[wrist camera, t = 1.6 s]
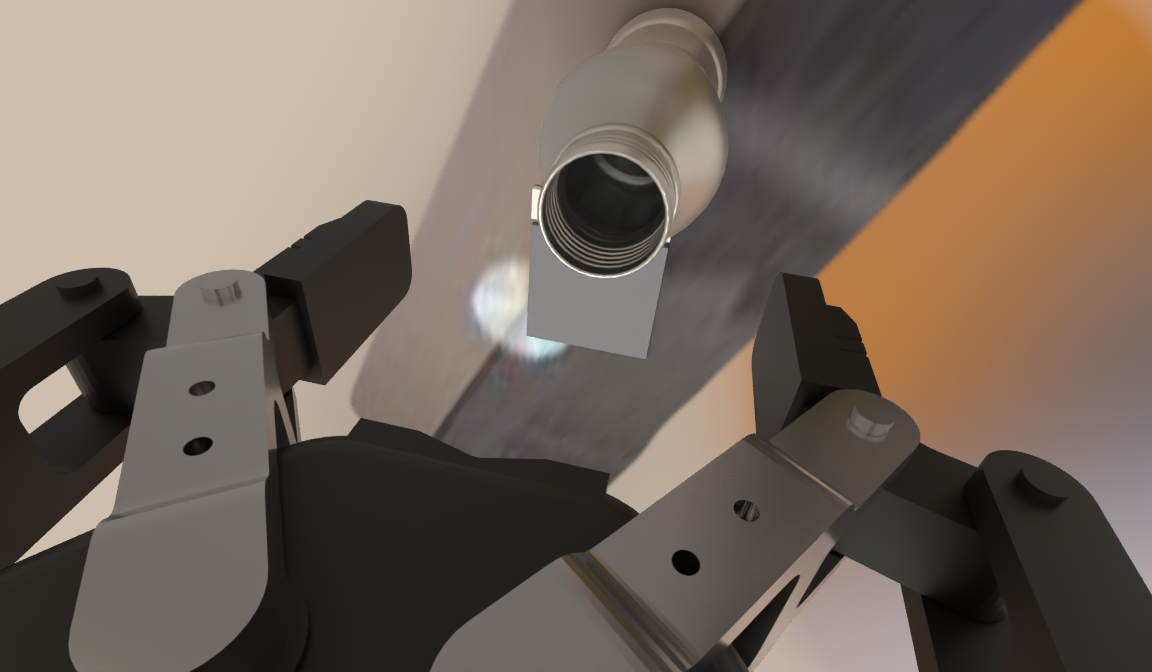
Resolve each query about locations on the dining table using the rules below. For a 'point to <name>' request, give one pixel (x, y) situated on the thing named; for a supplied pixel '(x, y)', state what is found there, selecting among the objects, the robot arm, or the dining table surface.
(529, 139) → the dining table surface
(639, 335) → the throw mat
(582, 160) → the plastic bottle
